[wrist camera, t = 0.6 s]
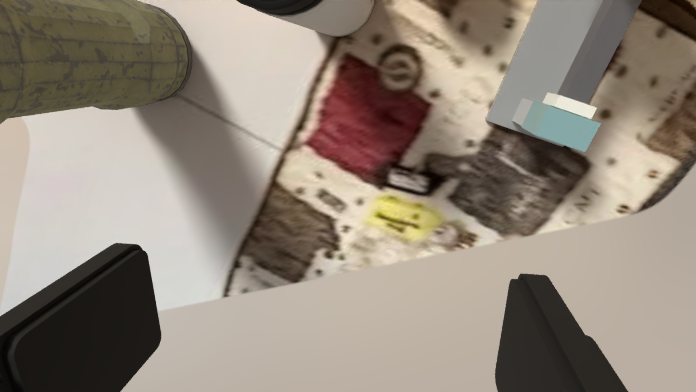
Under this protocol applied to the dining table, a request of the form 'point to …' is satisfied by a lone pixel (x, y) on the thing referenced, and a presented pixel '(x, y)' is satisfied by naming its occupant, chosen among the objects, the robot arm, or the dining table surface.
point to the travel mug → (318, 13)
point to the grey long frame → (561, 69)
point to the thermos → (88, 55)
